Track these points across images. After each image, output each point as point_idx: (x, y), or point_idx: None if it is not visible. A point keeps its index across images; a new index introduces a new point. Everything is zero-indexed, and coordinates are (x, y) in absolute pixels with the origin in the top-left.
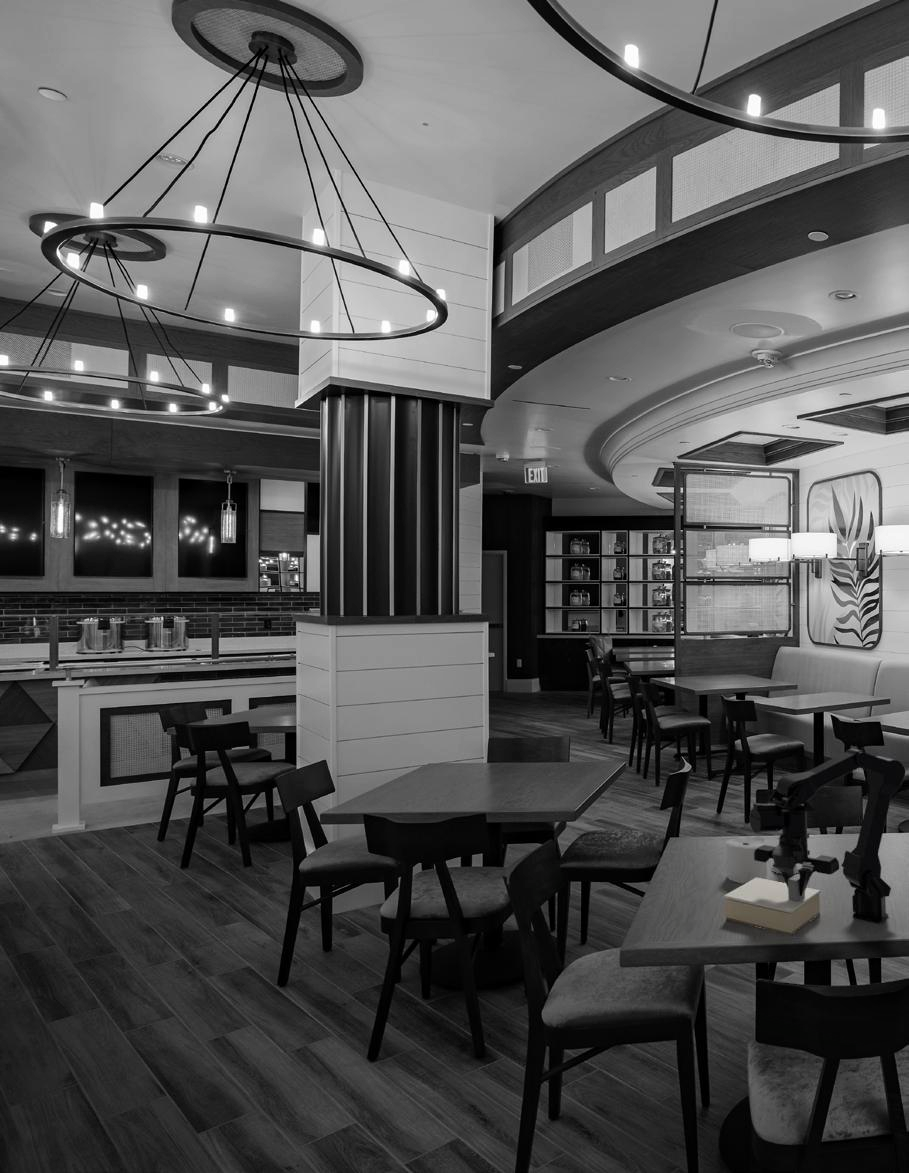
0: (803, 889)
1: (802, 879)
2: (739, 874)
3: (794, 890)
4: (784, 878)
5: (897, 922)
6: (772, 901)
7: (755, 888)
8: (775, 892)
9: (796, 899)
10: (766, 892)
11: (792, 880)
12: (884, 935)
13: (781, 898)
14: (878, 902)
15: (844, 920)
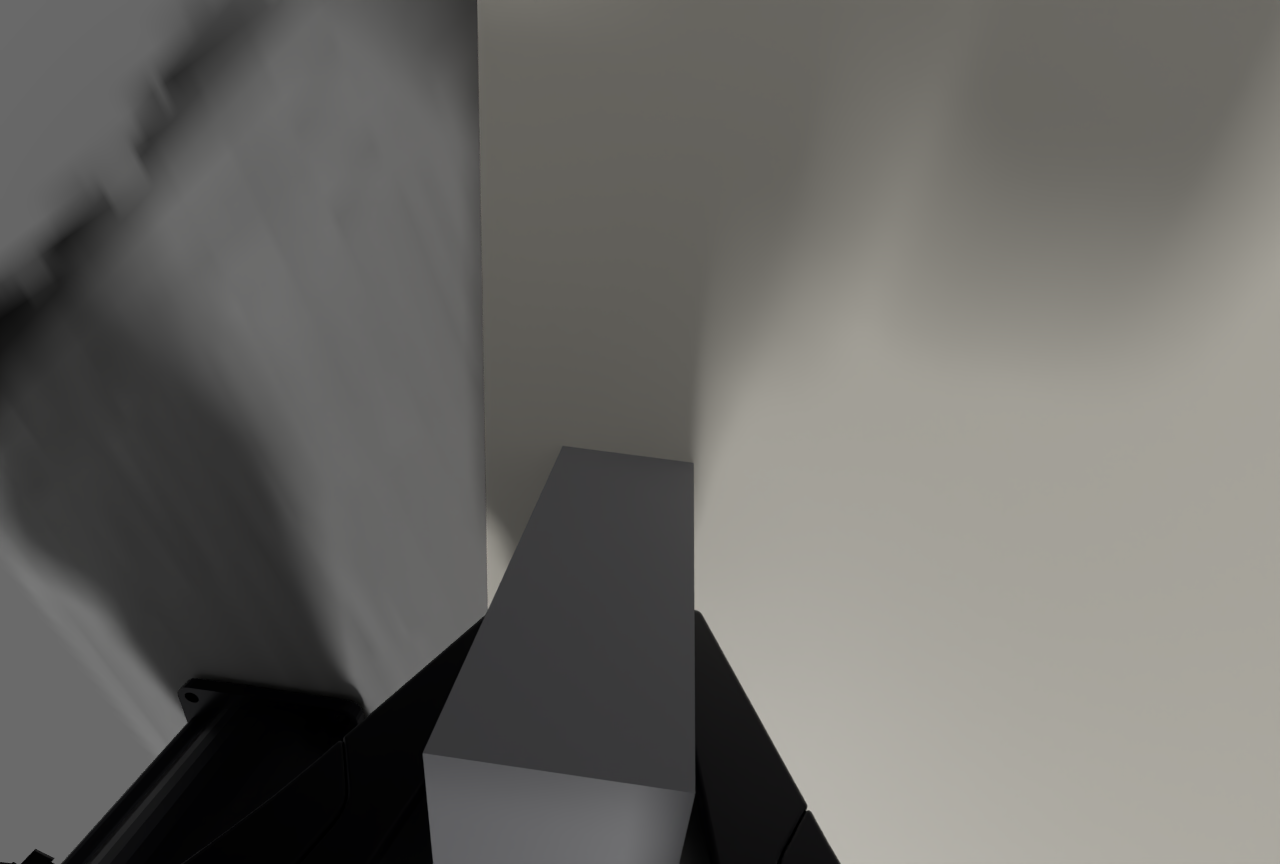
0: (440, 667)
1: (283, 857)
2: None
3: (559, 558)
4: (827, 858)
5: (143, 727)
6: (936, 250)
7: (1232, 697)
8: (929, 664)
9: (560, 462)
10: (1062, 615)
11: (545, 756)
12: (45, 498)
13: (808, 477)
14: (105, 833)
15: (379, 637)
